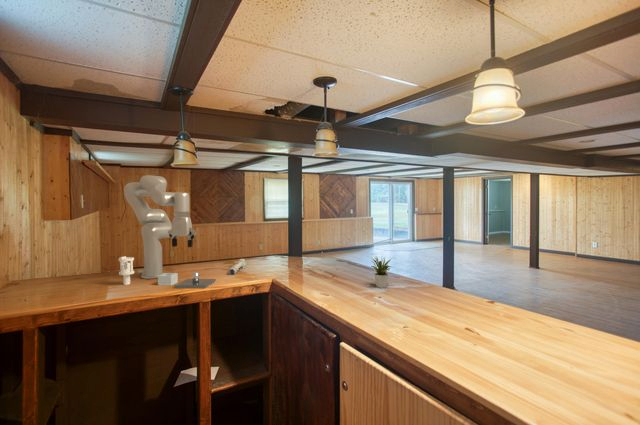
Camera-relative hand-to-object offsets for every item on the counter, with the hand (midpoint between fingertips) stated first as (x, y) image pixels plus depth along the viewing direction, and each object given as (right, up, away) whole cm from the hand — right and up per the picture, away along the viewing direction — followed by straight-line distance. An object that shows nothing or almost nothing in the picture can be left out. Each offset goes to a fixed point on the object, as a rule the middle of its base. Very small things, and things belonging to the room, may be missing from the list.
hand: (182, 246), depth 172 cm
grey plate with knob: (+10, -19, -6) cm, 22 cm away
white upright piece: (-28, -20, -3) cm, 35 cm away
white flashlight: (+22, -19, +30) cm, 42 cm away
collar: (-6, -19, -3) cm, 21 cm away
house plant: (+104, -19, -13) cm, 107 cm away
